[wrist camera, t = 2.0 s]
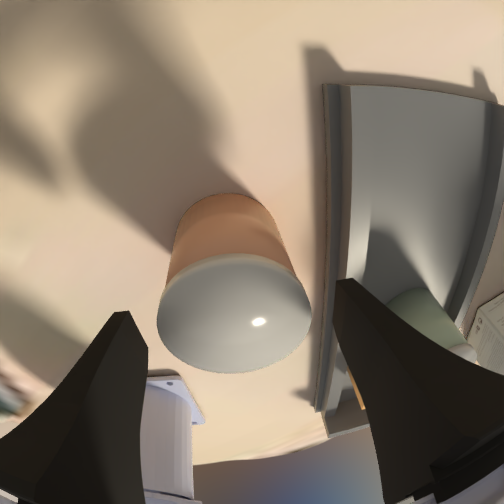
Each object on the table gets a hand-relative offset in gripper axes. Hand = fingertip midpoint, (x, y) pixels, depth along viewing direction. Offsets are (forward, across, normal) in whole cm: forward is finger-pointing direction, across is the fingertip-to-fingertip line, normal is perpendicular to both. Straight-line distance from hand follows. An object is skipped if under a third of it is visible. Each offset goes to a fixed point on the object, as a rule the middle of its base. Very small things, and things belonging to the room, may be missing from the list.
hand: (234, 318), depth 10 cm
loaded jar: (+5, -11, +8) cm, 14 cm away
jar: (+5, 0, 0) cm, 5 cm away
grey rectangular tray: (+5, -11, +6) cm, 14 cm away
